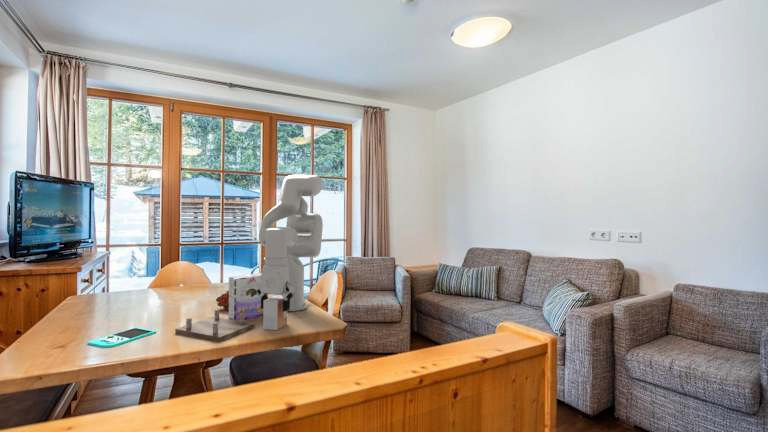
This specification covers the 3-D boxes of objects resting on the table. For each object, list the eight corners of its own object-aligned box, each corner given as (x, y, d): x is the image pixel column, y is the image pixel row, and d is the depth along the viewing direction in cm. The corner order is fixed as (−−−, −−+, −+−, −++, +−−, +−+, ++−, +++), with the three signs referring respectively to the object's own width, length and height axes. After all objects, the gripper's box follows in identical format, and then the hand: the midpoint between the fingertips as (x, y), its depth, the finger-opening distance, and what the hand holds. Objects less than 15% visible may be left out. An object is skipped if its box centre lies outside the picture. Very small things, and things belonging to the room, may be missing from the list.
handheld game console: (86, 345, 115) (86, 341, 115) (136, 330, 130) (136, 326, 130) (107, 350, 112) (107, 345, 112) (157, 334, 126) (157, 330, 126)
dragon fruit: (242, 314, 155) (217, 316, 158) (250, 298, 162) (225, 300, 164) (233, 300, 151) (207, 303, 153) (241, 285, 157) (216, 287, 160)
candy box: (261, 311, 154) (261, 272, 154) (268, 314, 150) (268, 274, 150) (227, 318, 144) (228, 276, 144) (234, 321, 140) (234, 278, 140)
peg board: (213, 320, 141) (213, 307, 141) (254, 327, 133) (254, 313, 133) (175, 333, 126) (175, 318, 126) (219, 341, 118) (219, 326, 118)
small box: (277, 330, 130) (277, 301, 130) (262, 329, 131) (263, 300, 131) (287, 324, 138) (287, 296, 138) (273, 322, 139) (274, 295, 139)
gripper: (249, 261, 134) (248, 309, 134) (289, 264, 127) (288, 314, 127) (263, 259, 141) (263, 304, 141) (302, 262, 134) (301, 309, 134)
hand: (275, 309), depth 134 cm, fingers open, 9 cm apart
